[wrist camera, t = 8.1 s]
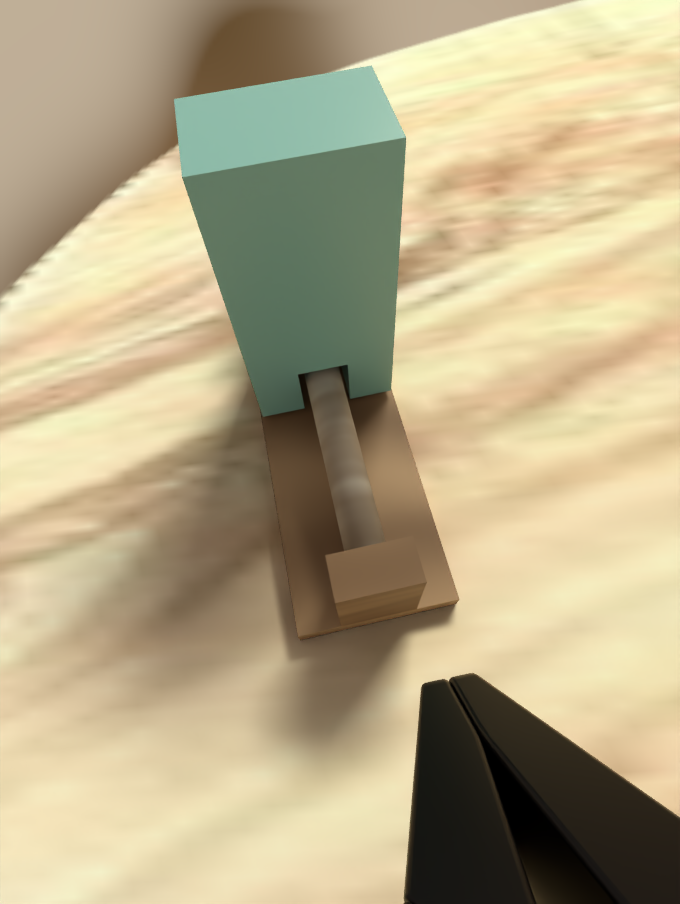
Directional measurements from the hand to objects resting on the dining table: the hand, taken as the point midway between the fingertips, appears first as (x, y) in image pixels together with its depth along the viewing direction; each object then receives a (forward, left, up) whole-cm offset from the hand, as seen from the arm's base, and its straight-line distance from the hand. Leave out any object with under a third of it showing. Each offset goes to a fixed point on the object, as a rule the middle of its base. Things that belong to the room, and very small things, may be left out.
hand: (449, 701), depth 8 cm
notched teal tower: (+15, +3, -11) cm, 19 cm away
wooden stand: (+12, +2, -12) cm, 18 cm away
